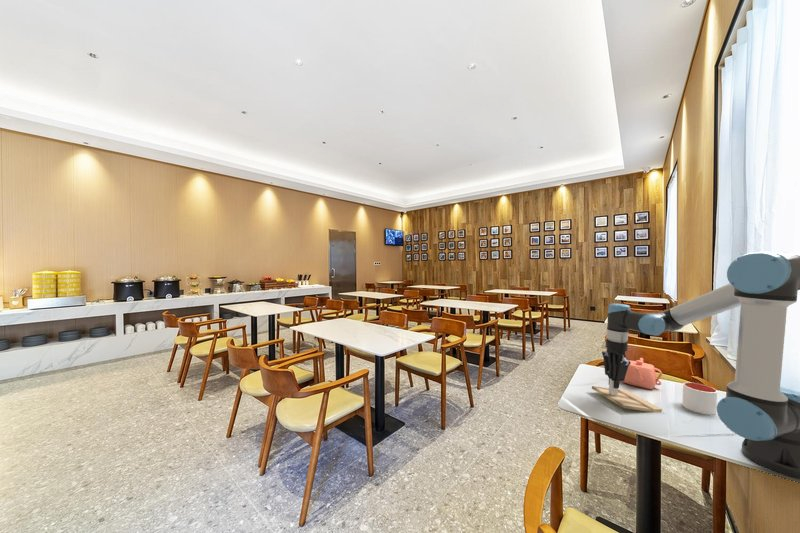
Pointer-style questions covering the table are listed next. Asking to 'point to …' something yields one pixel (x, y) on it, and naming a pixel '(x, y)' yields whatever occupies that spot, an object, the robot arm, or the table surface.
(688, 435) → the table surface
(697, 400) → the cup
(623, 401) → the board
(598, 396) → the pad
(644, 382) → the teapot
